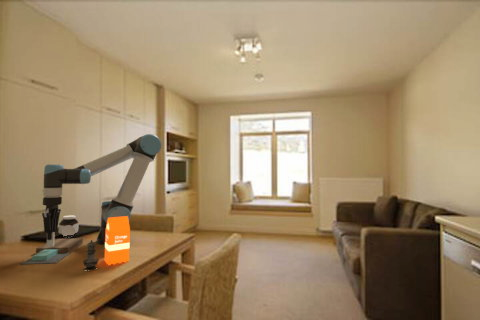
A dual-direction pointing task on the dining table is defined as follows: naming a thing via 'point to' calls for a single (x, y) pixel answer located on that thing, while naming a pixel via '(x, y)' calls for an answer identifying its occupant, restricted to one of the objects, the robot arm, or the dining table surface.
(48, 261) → the mat
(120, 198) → the robot arm
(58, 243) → the brown flat block
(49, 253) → the card
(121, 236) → the orange juice
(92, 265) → the black chess piece
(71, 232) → the spread jar
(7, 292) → the dining table surface
